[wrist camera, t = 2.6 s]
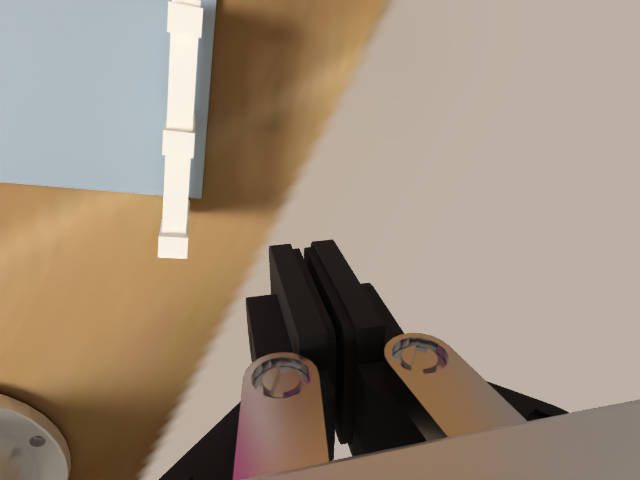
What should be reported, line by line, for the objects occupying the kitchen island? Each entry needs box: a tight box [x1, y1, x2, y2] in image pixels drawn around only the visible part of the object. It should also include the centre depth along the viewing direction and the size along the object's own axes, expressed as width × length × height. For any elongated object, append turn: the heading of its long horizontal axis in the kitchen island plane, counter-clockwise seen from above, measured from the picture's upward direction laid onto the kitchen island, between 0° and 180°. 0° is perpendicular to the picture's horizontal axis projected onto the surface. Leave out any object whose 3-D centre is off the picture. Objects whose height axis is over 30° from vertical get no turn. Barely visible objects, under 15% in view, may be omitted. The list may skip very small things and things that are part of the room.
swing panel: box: [158, 0, 203, 259], centre depth 20 cm, size 10×1×5 cm, turn 170°
